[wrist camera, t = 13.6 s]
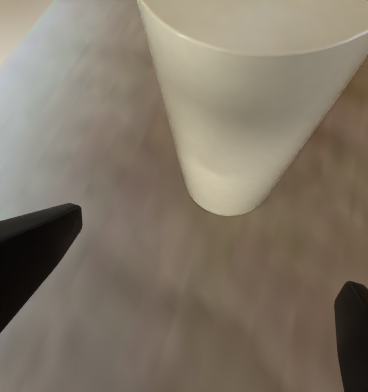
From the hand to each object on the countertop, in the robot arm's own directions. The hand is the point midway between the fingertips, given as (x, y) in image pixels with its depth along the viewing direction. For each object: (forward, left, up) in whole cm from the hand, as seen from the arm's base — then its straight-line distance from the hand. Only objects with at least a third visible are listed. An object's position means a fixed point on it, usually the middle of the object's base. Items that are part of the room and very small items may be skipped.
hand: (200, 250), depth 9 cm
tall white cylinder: (+5, -3, -8) cm, 10 cm away
